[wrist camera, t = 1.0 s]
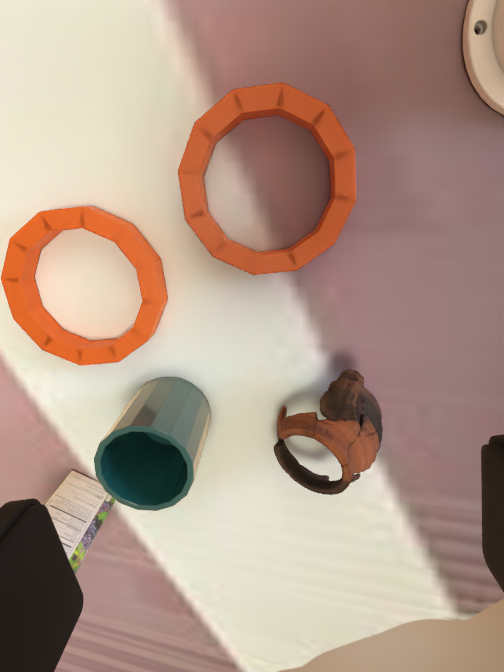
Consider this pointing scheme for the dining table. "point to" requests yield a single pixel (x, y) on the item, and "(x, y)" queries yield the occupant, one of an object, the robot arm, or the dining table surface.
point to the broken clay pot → (335, 433)
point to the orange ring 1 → (27, 298)
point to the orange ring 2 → (257, 105)
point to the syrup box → (78, 514)
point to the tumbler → (154, 445)
